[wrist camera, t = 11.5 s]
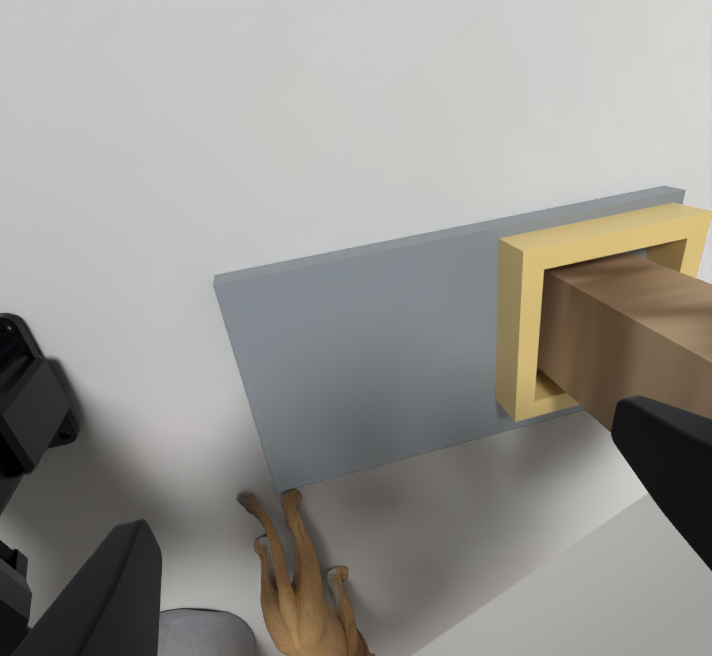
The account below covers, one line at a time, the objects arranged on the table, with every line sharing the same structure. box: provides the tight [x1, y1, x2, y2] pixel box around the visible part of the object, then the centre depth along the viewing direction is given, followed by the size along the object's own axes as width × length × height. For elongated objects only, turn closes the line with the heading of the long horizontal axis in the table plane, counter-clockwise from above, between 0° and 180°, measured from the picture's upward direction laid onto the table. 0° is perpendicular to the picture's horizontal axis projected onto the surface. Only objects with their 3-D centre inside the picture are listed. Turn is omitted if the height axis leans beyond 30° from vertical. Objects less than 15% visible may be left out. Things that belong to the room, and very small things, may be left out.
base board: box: [213, 186, 712, 493], centre depth 22 cm, size 22×12×3 cm, turn 97°
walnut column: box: [537, 253, 712, 432], centre depth 17 cm, size 5×5×13 cm
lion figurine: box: [237, 490, 375, 656], centre depth 24 cm, size 15×5×9 cm, turn 27°
